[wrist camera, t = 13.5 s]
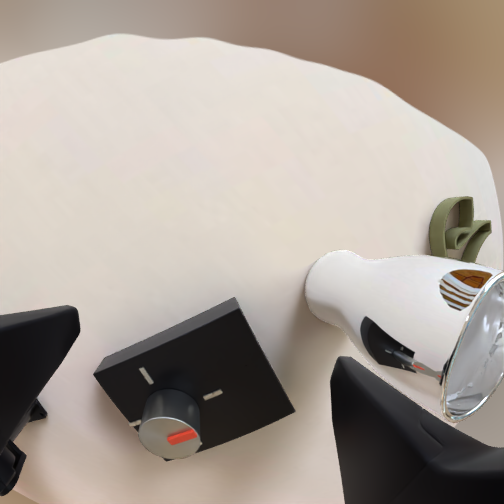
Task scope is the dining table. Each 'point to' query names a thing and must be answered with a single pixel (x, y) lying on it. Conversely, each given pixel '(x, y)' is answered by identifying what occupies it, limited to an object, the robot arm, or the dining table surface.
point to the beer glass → (418, 323)
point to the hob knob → (170, 424)
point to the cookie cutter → (458, 229)
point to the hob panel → (201, 375)
